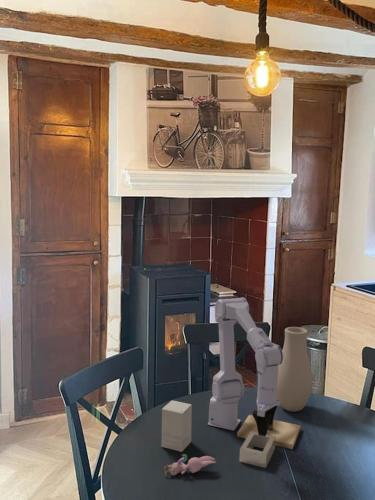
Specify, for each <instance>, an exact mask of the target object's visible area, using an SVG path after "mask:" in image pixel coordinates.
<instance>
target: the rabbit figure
mask: <svg viewBox="0 0 375 500" xmlns="http://www.w3.org/2000/svg"><path fill="white" fill-rule="evenodd" d="M181 456H182V457H181V458H180V459H178V461H177V462H172V464H166V465H163V470H164V474H165V477H167V476H168V475H167V473H168V472H169V474H170V476H173V477H174V476H176V475H178V474H179V473H181V475H184V474H185V473H186V472H187V470H188V471H189V472H190V473H192V474H195V473H197V472H200V471H201V469H202V468H204V467H206V466H208V465H211V464H217V461H216V459H215V458H214V457H212V456H210V455H204V456H200V457H195V456H194V457H191V458H190V459H188V455H187V454H184V453H183V454H181ZM187 460H188V462H187V464H185V462H186V461H187ZM166 468H167V469H168V470H166Z"/></svg>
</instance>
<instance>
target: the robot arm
mask: <svg viewBox="0 0 375 500" xmlns="http://www.w3.org/2000/svg"><path fill="white" fill-rule="evenodd" d="M214 319H215V320H214V321H215V323H218V343H219V367H220V370H219V371H218V372H217V373H216V374H215V375H214V376H213V378H212V385H211V392H212V396H211V398H210V401H209V405H208V422H207V425H208V426H212V427H216V428H221V429H225V430H228V431H229V430H230V431H235V430H236V429H237V427H238V426H239V424H240V423H241V421H242V420H241V419H240V418H238V409H239V401H240V400H241V397H243V395H244V393H245V385H244V383H243V376H242V375H241V373H239V372H237V371H236V356H235V354H236V353H235V330H234V325H236V323H238V325H240V326H241V328H242V329H243V330H244V331H245V332H246V341H247V342H248V343H249V345H250V346H251V348H252V350H253V351H254V353H255V354H254V357H255V362H256V369H257V372H258V373H257V375H258V377H257V394H256V395H257V397H256V401H255V402H256V406H257V409H256V410H255V409H254V410H253V411H252V415H253V417H254V419H255V421H256V424H257V430H258V434H259V435H261V436H266V434H267V430H268V425H272V422H273V420H274V418H275V414H276V410H277V409H278V407H279V406H280V407H281V405H280V404H281V402H280V401H278V399H277V385H278V367H279V366H278V365H280V364H281V363H282V362H283V352H282V351H283V349H282V348H281V346H280V345H279V344H275V343H274V342H272V341H271V339H270V338H269V337H268V335H267V334H266V332H265V331H264V329H263V328H261V327H257V325H256V323H255V321H254V319H253V317H252V316H251V314H250V304H249V303H248V301H247V299H246V298H245V297H242V296H241V297H237V298H236V297H235V298H223V299H222V298H219V299H218V300H217V301H216V302H215V303H214Z"/></svg>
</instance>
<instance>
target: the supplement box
mask: <svg viewBox="0 0 375 500" xmlns="http://www.w3.org/2000/svg"><path fill="white" fill-rule="evenodd" d="M192 406H193V405H192V404H191V403H187V402H181V401H177V400H170V401H169V402H168V403H167V404H166V405H165V406H163V408H161V448H166V449H169V450H172V451H176V452H180V453H182V452H183V451H184V450H185V449H186V448H187V447H188V446H189V445H190V444H191V442H192V414H193V413H192V411H193V408H192Z"/></svg>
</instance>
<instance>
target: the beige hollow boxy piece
mask: <svg viewBox="0 0 375 500" xmlns="http://www.w3.org/2000/svg"><path fill="white" fill-rule="evenodd" d="M275 441H276V437H275V436H271V435H266V436H261V435H259V434H258V433H257V432H252V431H251V432H250V433H249V435H248V437H247V438H246V439H245V440H244V441H243V443H242V445H241V446H240V448H239V457H238V458H239V463H244V464H249V465H252V466H256V467H260V468H264V469H266V468H267V466H268V464H269V462H270V460H271V458H272V456H273V453H274V452H275V449H276V445H275ZM255 447H257V448H260V449H263V450H258V449H254V448H255Z"/></svg>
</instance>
